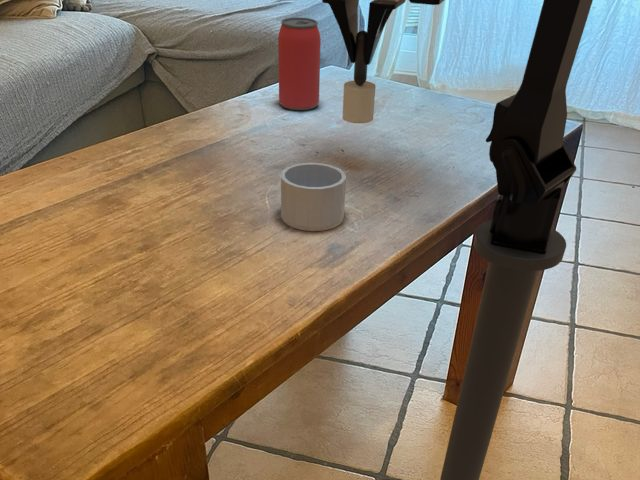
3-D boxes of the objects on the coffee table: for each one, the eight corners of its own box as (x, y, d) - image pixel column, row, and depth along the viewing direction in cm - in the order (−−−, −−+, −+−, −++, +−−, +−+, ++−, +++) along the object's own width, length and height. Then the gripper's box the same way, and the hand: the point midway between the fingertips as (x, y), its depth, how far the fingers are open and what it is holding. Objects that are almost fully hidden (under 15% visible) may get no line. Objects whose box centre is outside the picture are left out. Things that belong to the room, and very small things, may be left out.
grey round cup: (351, 209, 80) (353, 168, 77) (331, 235, 75) (333, 193, 72) (294, 199, 82) (294, 158, 79) (271, 224, 77) (270, 182, 73)
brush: (376, 115, 87) (383, 28, 80) (367, 125, 84) (374, 36, 77) (348, 111, 88) (352, 25, 81) (338, 120, 85) (341, 32, 78)
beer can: (327, 105, 109) (329, 21, 101) (301, 114, 105) (301, 28, 97) (296, 96, 112) (297, 14, 104) (270, 105, 108) (268, 21, 100)
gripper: (470, -99, 74) (449, 56, 85) (315, -108, 79) (313, 40, 89) (450, -91, 67) (429, 79, 77) (279, -101, 71) (281, 60, 82)
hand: (361, 63), depth 82 cm, fingers closed on brush
